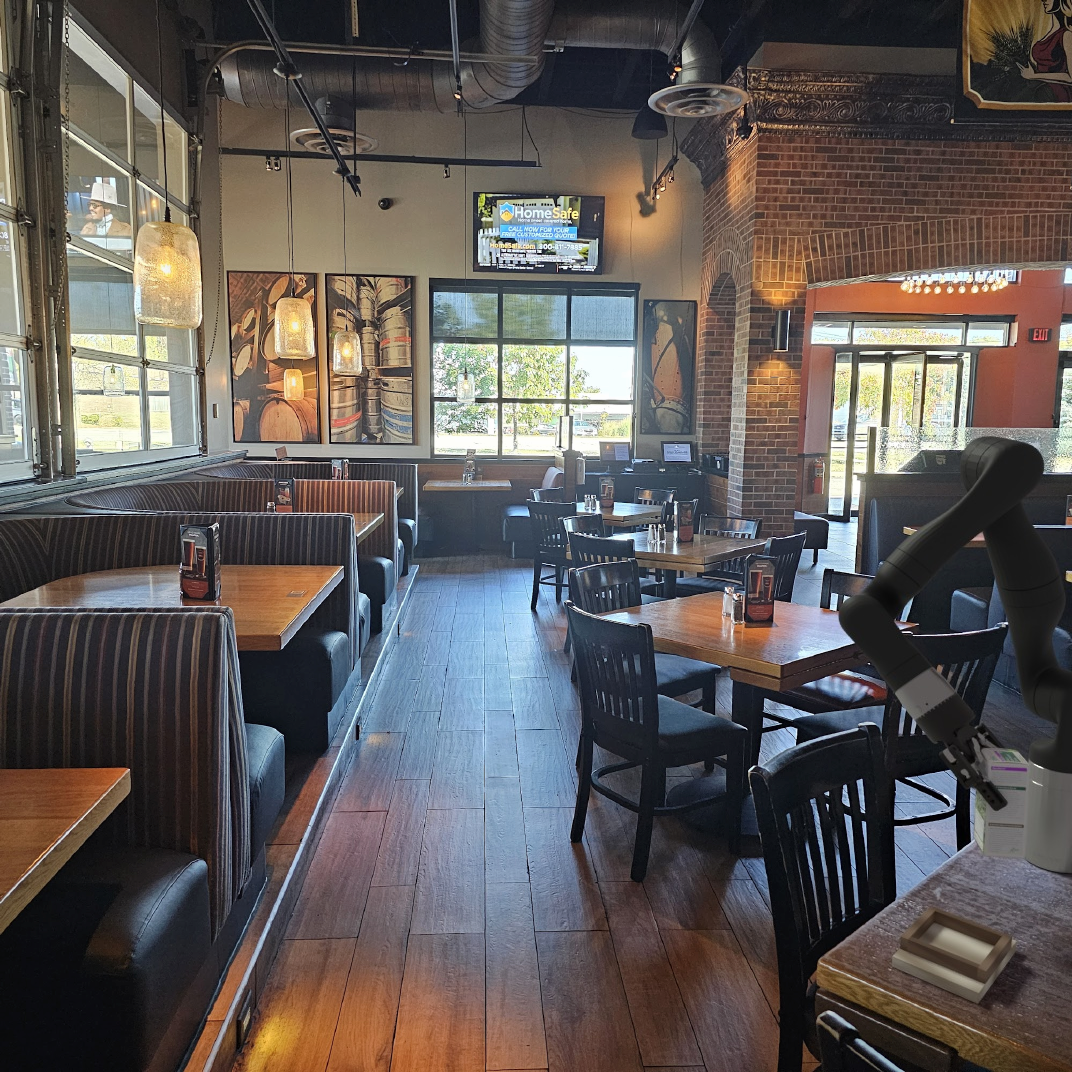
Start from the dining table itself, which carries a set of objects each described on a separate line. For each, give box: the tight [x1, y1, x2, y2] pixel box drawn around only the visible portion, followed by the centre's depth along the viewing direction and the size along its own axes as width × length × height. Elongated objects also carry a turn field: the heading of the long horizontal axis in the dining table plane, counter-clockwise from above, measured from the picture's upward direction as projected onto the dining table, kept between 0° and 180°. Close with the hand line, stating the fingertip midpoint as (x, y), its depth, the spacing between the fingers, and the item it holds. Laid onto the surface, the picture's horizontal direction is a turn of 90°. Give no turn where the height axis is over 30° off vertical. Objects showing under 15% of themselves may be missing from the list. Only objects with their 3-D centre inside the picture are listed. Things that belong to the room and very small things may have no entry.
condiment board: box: [891, 905, 1018, 1005], centre depth 119 cm, size 16×11×3 cm
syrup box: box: [973, 748, 1030, 860], centre depth 126 cm, size 6×6×14 cm
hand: (1011, 798), depth 125 cm, fingers closed on syrup box, 8 cm apart
